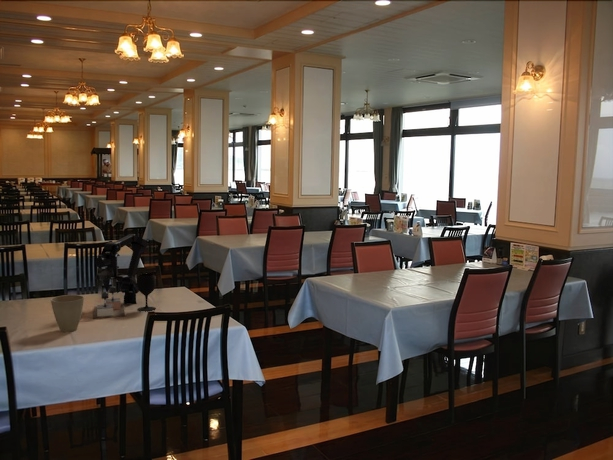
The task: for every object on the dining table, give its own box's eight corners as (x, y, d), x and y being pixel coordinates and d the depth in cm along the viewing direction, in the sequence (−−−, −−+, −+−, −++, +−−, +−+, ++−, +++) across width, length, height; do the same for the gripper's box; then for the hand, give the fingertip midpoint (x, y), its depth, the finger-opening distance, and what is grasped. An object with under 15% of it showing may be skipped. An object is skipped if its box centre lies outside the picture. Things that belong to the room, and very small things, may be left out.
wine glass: (133, 310, 314) (132, 275, 312) (146, 306, 324) (145, 272, 322) (146, 312, 310) (146, 277, 308) (160, 308, 319) (159, 274, 317)
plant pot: (51, 327, 277) (50, 296, 276) (84, 324, 283) (83, 293, 282) (51, 335, 264) (50, 302, 262) (85, 332, 270) (84, 300, 268)
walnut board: (123, 305, 325) (123, 304, 325) (125, 316, 300) (125, 315, 300) (94, 307, 319) (94, 306, 319) (93, 318, 295) (93, 317, 295)
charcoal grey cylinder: (116, 299, 319) (115, 286, 318) (116, 301, 316) (115, 287, 315) (109, 300, 318) (109, 286, 317) (109, 301, 314) (109, 287, 314)
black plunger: (108, 305, 304) (108, 291, 304) (108, 307, 301) (108, 293, 300) (101, 306, 303) (101, 292, 302) (101, 307, 300) (101, 293, 299)
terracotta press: (120, 305, 322) (120, 298, 322) (120, 308, 315) (120, 301, 314) (105, 306, 319) (105, 299, 319) (105, 309, 312) (105, 302, 312)
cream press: (113, 311, 308) (112, 304, 307) (113, 315, 300) (113, 307, 300) (97, 312, 305) (97, 305, 305) (97, 316, 298) (97, 308, 297)
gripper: (88, 266, 310) (89, 293, 312) (116, 268, 304) (116, 296, 305) (102, 263, 321) (102, 289, 322) (129, 265, 314) (129, 292, 316)
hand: (112, 292), depth 316 cm, fingers open, 7 cm apart
